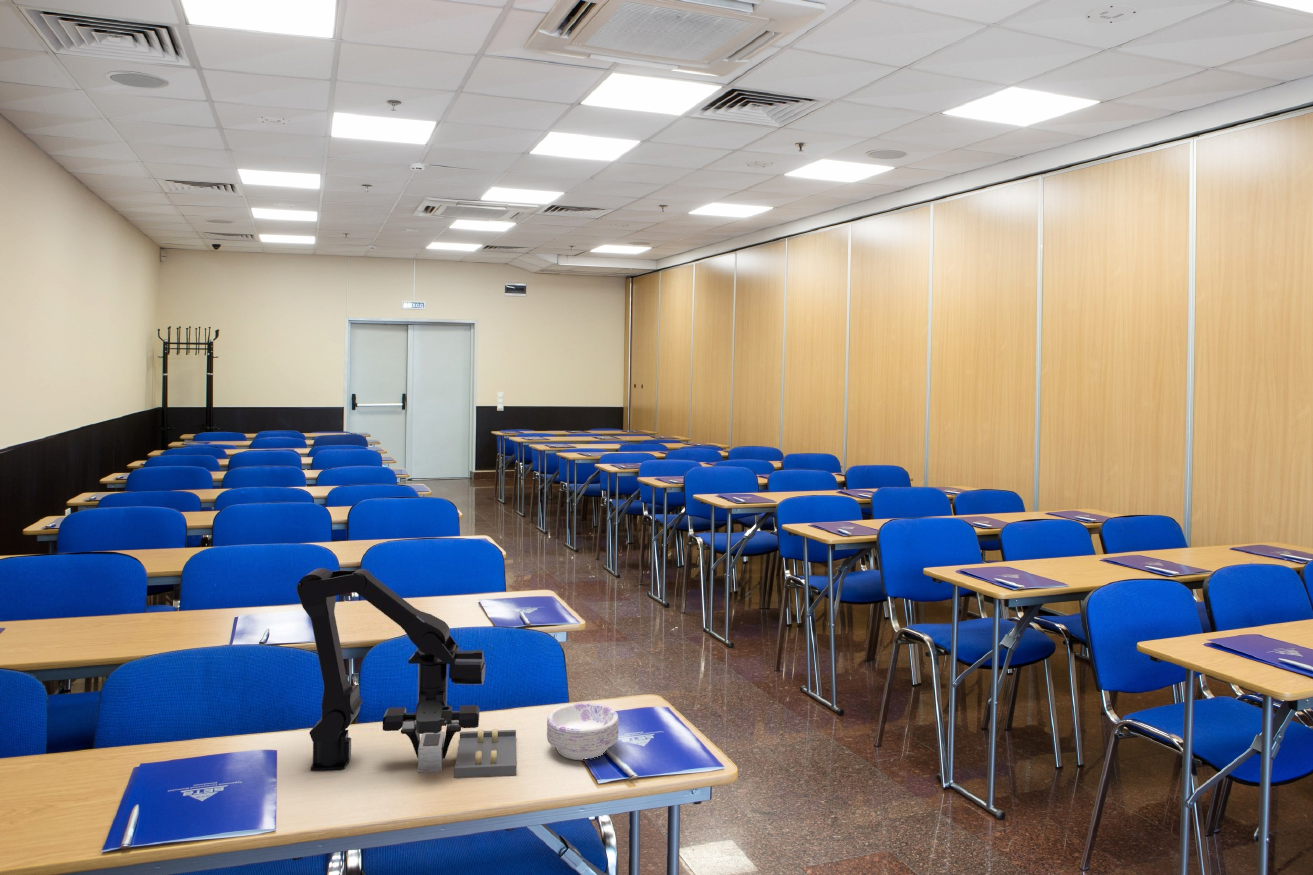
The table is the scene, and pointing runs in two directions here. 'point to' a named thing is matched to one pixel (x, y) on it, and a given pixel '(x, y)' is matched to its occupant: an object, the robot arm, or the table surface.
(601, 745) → the paper bowls
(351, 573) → the robot arm
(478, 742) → the tray
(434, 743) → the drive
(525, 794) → the table surface
